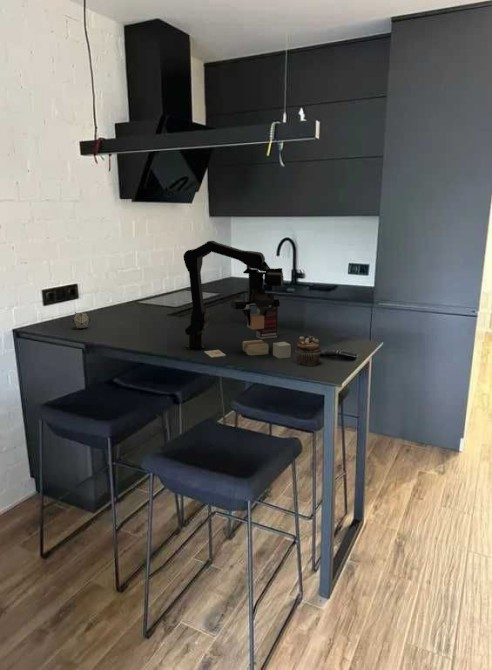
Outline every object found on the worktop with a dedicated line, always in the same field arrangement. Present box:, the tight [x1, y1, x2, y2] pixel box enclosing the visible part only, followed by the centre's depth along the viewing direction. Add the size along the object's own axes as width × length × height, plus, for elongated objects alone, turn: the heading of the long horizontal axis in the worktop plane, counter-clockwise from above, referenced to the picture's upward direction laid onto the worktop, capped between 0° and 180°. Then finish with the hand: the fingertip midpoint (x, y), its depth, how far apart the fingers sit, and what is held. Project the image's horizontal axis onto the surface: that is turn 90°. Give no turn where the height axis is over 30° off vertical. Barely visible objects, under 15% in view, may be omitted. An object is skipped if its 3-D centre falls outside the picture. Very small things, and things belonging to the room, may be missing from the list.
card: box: [203, 349, 227, 358], centre depth 185 cm, size 8×6×1 cm
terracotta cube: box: [246, 313, 264, 330], centre depth 186 cm, size 5×5×5 cm
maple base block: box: [242, 339, 269, 356], centre depth 189 cm, size 8×8×4 cm
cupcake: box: [295, 334, 322, 367], centre depth 175 cm, size 10×10×10 cm
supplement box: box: [255, 305, 279, 340], centre depth 211 cm, size 9×5×16 cm, turn 113°
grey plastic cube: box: [272, 341, 292, 359], centre depth 183 cm, size 5×5×5 cm
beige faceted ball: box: [71, 311, 91, 330], centre depth 223 cm, size 9×8×10 cm
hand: (255, 325), depth 186 cm, fingers closed on terracotta cube, 5 cm apart
